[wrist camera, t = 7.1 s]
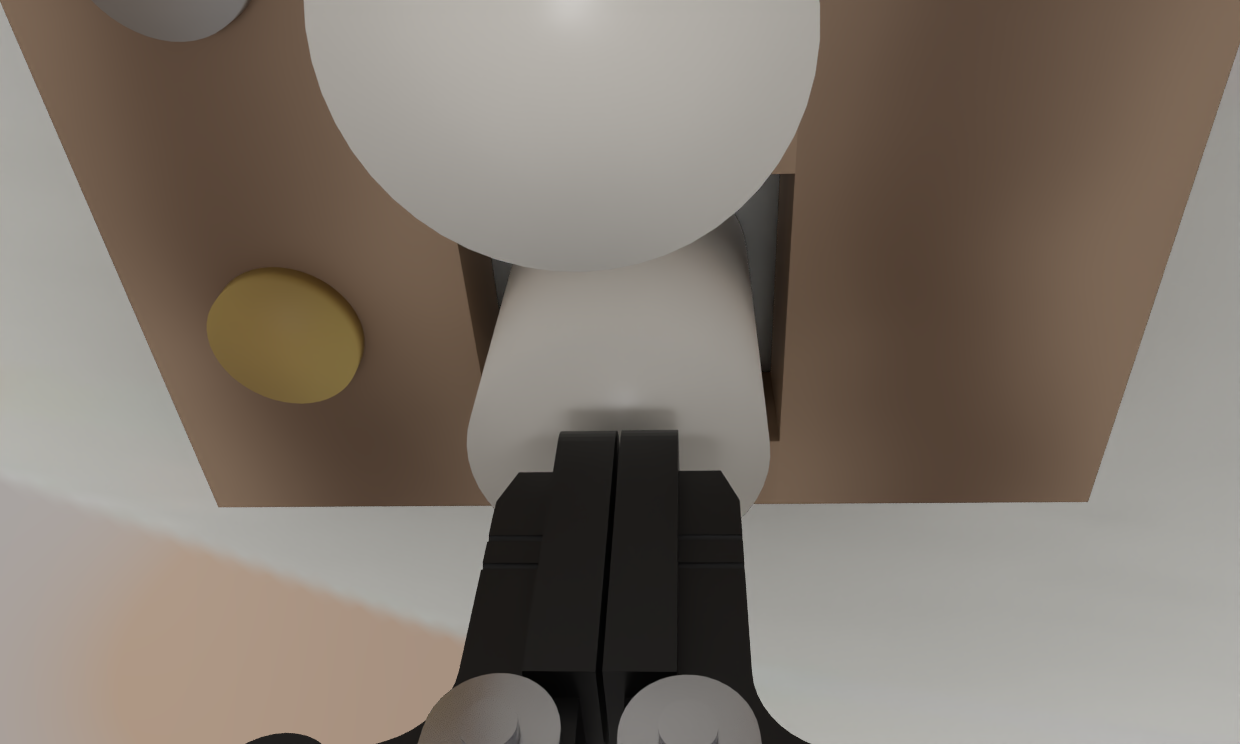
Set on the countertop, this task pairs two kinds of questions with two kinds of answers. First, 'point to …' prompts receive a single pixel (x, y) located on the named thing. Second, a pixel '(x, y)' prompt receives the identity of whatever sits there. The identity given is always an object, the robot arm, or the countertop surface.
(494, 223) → the button
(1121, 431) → the countertop surface
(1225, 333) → the countertop surface
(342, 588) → the countertop surface
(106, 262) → the countertop surface
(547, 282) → the button
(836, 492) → the board
